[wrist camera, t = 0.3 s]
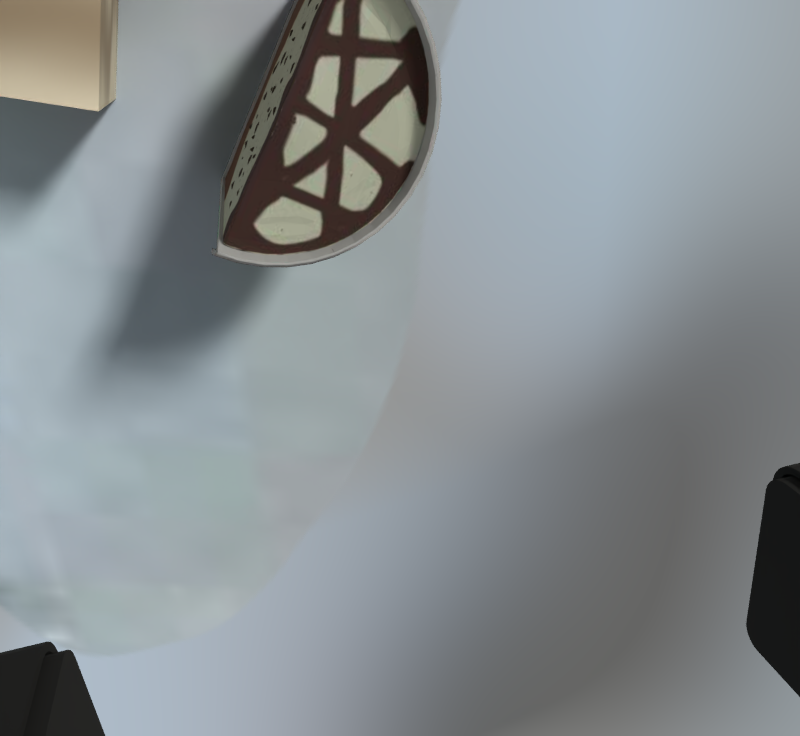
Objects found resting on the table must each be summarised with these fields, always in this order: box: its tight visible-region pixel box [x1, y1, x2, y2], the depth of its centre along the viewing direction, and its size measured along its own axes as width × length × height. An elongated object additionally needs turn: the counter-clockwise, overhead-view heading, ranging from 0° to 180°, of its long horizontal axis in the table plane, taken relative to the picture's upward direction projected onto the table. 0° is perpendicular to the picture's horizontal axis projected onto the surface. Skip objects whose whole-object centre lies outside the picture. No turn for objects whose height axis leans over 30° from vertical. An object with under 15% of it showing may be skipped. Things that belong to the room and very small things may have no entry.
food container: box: [211, 0, 441, 267], centre depth 30 cm, size 12×6×10 cm, turn 153°
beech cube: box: [0, 0, 118, 111], centre depth 28 cm, size 6×6×6 cm
